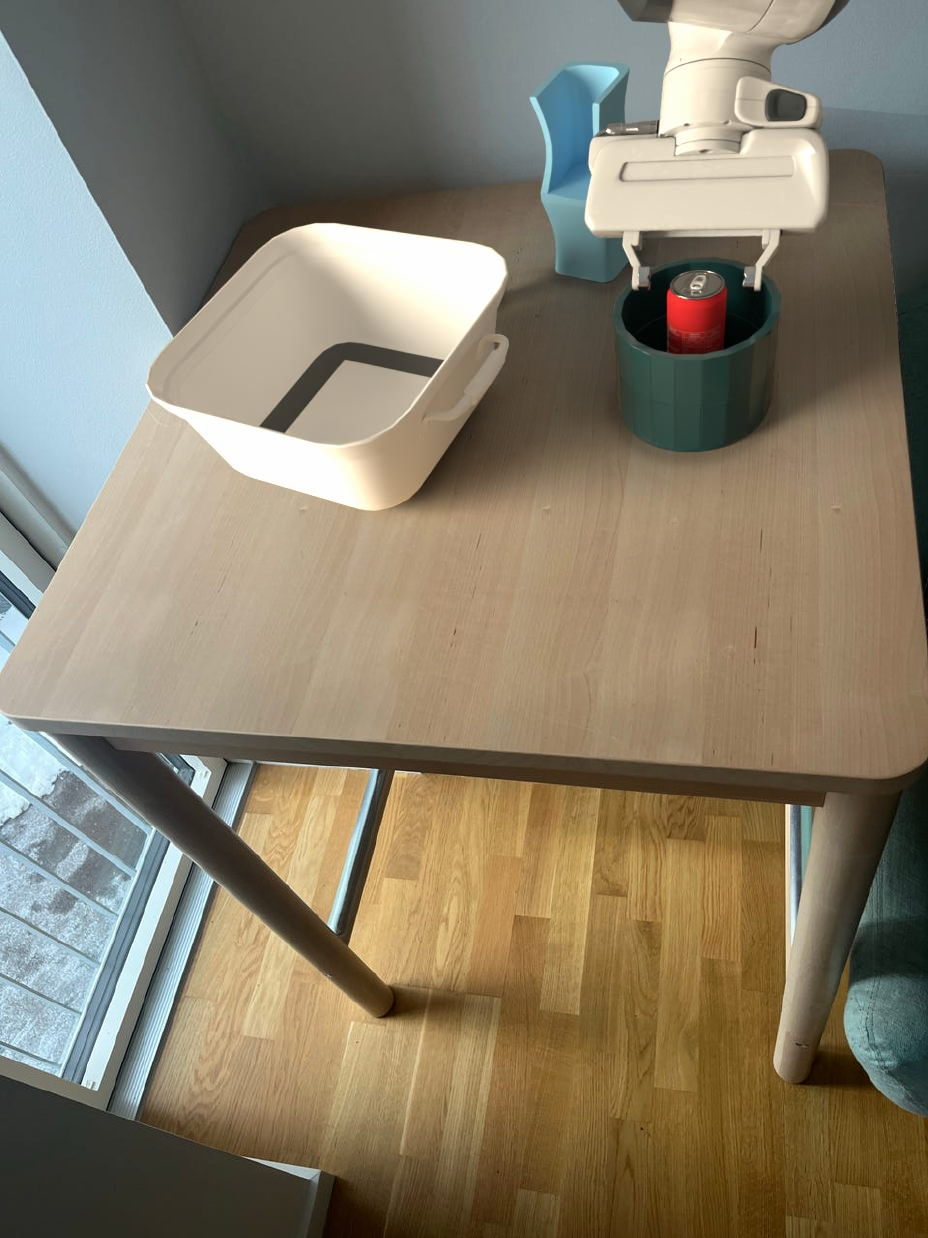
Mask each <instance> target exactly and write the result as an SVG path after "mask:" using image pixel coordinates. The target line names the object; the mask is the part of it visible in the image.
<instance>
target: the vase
mask: <svg viewBox="0 0 928 1238" xmlns="http://www.w3.org/2000/svg"><path fill="white" fill-rule="evenodd" d="M630 70H631V69H630V66H629V65H628V64H627V63H626V64H625V63H619V62H607V61H595V60H580V59H579V60H578V59H575V60H574V59H573V60H569V61H566V62H564V63H561V64H559V66H558V67H557V68H556V69H555V70H554V71H552V73H551V74H550V75H549V76H548V77H547V78H546V79H545V80H544V81H543V82H542V83H541V84H540V86H538V88H537V89H536V90H535V91H534V92H533V93H532V94H531V95H530V96H529V101H530V103H531V106H532V107H533V110H534V112H535V114H536V117H537V119H538V121H539V123H540V127H541V130H542V133H543V138H544V142H545V167H544V173H543V178H542V184H541V189H540V199H541V203H542V206H543V207H544V210H545V212H546V214H547V216H548V219H549V222H550V224H551V228H552V231H553V235H554V242H555V265H554V266H555V268H554V269H555V272H556V273H557V274H558V275H562V276H567V277H571V278H575V279H576V278H577V279H583V280H587V281H591V282H592V281H593V282H596V283H597V282H598V283H609V282H611V281H613V280H615V279H616V278H617V277H618V276H619V274H621V272H622V271H623V269H624V268H625V267H626V266H627V264H628V263H629V262H630V261H629V259H628V257H627V254H626V252H625V250H624V248H623V238H597V237H596V236H595V235H594V234H593V233H592V232H591V231H590V230H589V228H588V227H587V225H586V223H585V209H586V201H587V195H588V189H589V185H590V180H591V176H592V175H591V173H590V171H589V168H588V157H589V147H590V143H591V141H592V139H593V137H594V136H595V135H596V134H597V133H598V132H599V131H601V130H603V129H606V128H607V126H608V124H612V123H623V124H626V110H625V109H626V95H627V88H628V83H629V77H630ZM604 136H607V134H604V135H602V136H601V137H604ZM637 251H638V250H635V252H636V253H637Z"/></svg>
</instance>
